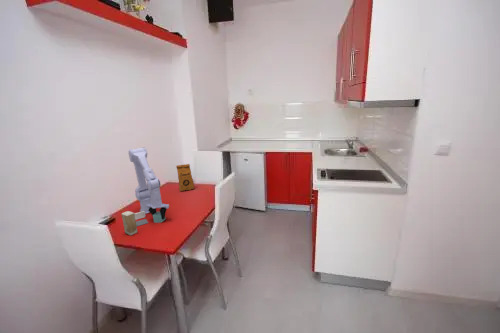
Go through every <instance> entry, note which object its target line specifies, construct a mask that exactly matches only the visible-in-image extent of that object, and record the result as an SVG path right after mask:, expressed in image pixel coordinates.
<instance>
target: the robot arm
mask: <svg viewBox="0 0 500 333" xmlns="http://www.w3.org/2000/svg"><path fill="white" fill-rule="evenodd" d="M128 158H129V161H130V162H132V163H133V166H134V170H135V174H136V178H137V179H136V180H137V183H138V186H137V187H136V188H135V198H136V200H137V201H139V204H140V208H139V212H142V211H145V215H146V214H148V213H150V215H151V216H152V217H153V214H155V213H156V212H157V209H159V212H160V213H161V216H162V219H164V218H166V213H167V212H166V211H167V210H168V209H170V204H169V203H168V204H166V203H163V201H162V195H161V190H160V188H161V180H160V179H159V178H158V177H157V176H156V175H155V172H154V170H153V168H150V165H149V162H148V150H147V148H145V147H140V148H134V149H129V150H128Z"/></svg>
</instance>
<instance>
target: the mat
mask: <svg viewBox="0 0 500 333" xmlns="http://www.w3.org/2000/svg"><path fill="white" fill-rule="evenodd" d="M146 224H149V221H148V220H147V218H144V219H143V218H142V219H140V220H136V226H137V227H140V226H143V225H146Z"/></svg>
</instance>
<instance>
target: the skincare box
mask: <svg viewBox="0 0 500 333" xmlns="http://www.w3.org/2000/svg"><path fill="white" fill-rule="evenodd" d="M134 214H135V212H132V211H129V210H127V211H124V212H122V213H121V219H122V222H123V223H122V224H123V229H124V233H125V234H126V235H129V236H132V235H133V236H134V234H137V233H138V226H136V221H137V220H135V215H134Z"/></svg>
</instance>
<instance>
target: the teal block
mask: <svg viewBox="0 0 500 333" xmlns="http://www.w3.org/2000/svg"><path fill="white" fill-rule="evenodd" d="M152 218H153V223H156V224H157V223H158V224H159V223H163V222H164V221H165V220H166V217H165V218H164V219H162V216H161V213H160V211H158V210H156V213H155V214H153V216H152Z"/></svg>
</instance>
